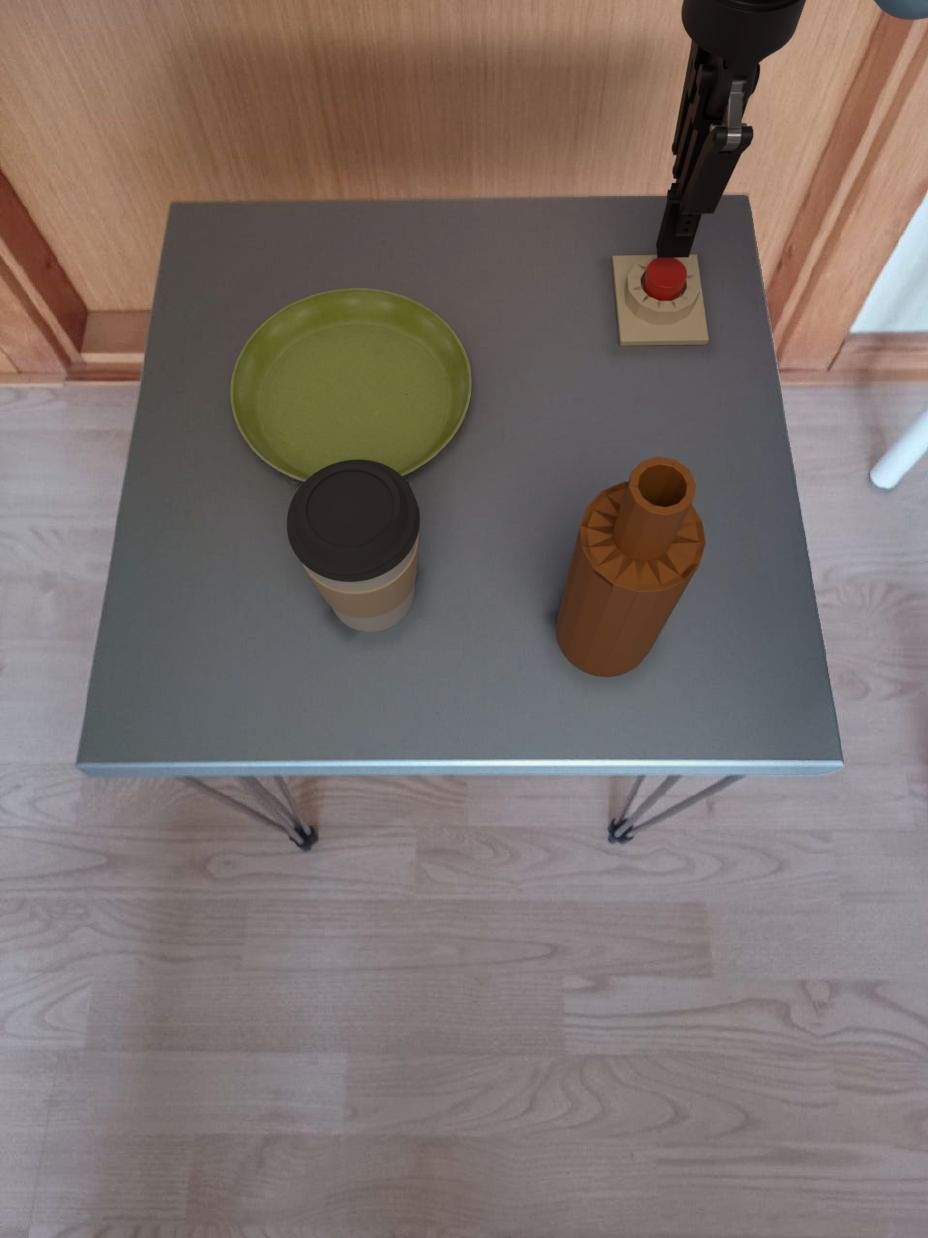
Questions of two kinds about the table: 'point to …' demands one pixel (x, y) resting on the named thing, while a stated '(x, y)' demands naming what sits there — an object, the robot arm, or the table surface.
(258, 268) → the table surface
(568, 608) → the brown bottle
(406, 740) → the table surface
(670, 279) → the power button
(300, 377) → the green plate
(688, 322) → the cream button plate
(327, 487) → the coffee cup
